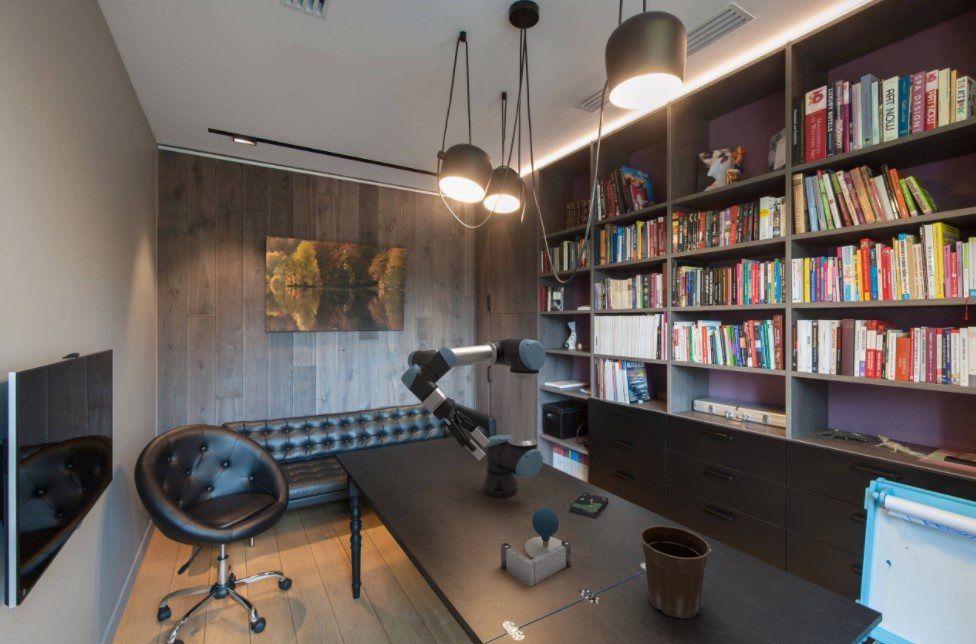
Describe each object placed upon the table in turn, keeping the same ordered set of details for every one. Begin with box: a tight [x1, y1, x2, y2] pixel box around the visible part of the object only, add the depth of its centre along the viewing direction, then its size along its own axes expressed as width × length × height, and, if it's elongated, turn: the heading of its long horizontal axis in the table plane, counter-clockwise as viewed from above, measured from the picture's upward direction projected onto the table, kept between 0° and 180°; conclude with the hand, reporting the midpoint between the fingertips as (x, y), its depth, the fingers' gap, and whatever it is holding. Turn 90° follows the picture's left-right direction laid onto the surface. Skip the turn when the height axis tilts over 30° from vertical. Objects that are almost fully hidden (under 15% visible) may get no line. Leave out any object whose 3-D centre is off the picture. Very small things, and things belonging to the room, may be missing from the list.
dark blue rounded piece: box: [531, 507, 560, 547], centre depth 133 cm, size 8×8×12 cm
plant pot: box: [639, 525, 711, 620], centre depth 108 cm, size 16×16×16 cm
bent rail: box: [500, 539, 572, 588], centre depth 125 cm, size 18×13×6 cm
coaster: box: [524, 535, 563, 559], centre depth 133 cm, size 13×13×1 cm
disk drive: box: [569, 492, 609, 519], centre depth 163 cm, size 10×3×15 cm
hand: (484, 450), depth 139 cm, fingers open, 13 cm apart
